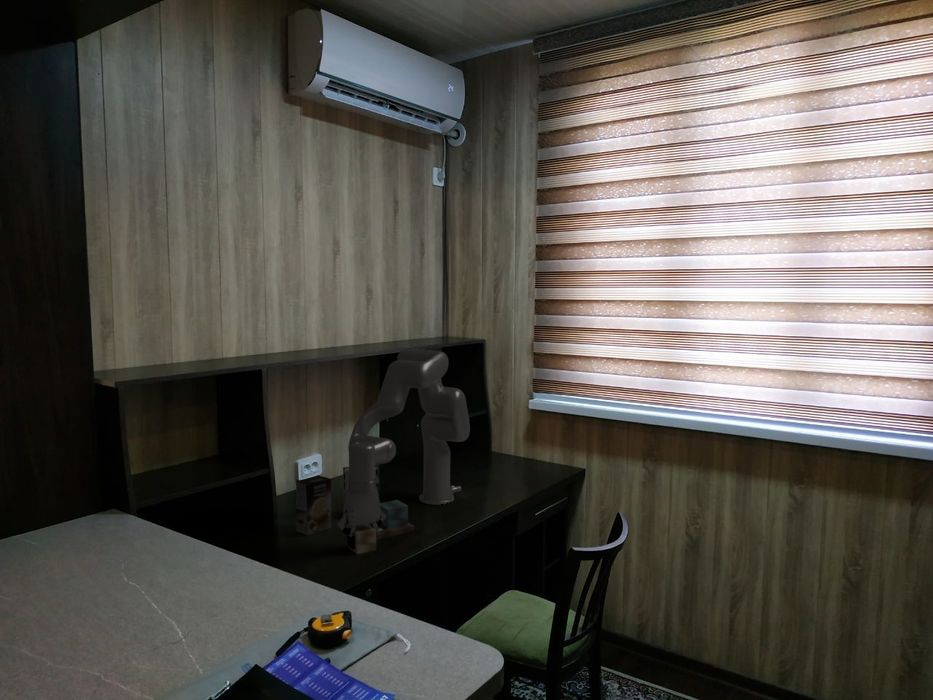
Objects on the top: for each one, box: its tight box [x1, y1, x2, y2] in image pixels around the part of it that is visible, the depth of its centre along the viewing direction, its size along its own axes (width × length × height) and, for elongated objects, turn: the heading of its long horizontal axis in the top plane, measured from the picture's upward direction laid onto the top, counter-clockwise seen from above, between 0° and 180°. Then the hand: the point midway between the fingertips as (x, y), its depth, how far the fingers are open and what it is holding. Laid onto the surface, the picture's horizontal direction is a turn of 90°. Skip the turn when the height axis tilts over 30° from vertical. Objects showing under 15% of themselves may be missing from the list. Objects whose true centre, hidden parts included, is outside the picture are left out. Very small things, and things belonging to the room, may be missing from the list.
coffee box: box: [295, 475, 332, 536], centre depth 210 cm, size 9×6×16 cm
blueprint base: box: [344, 499, 416, 540], centre depth 211 cm, size 18×12×8 cm, turn 125°
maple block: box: [347, 524, 377, 555], centre depth 196 cm, size 6×6×6 cm
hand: (362, 545), depth 196 cm, fingers closed on maple block, 6 cm apart
